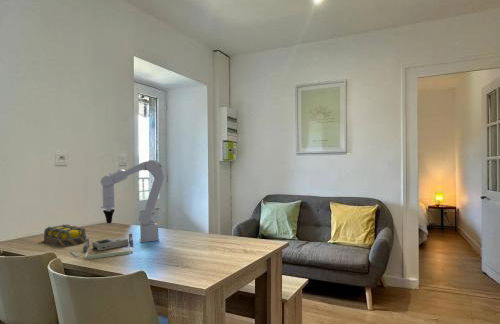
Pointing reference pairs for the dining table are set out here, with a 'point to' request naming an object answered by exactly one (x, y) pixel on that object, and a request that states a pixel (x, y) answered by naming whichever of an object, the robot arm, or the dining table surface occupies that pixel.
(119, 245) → the handheld gaming device
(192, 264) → the dining table surface
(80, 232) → the cage light
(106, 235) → the dining table surface
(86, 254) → the bay
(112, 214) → the robot arm
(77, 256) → the stay bar
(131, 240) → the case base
